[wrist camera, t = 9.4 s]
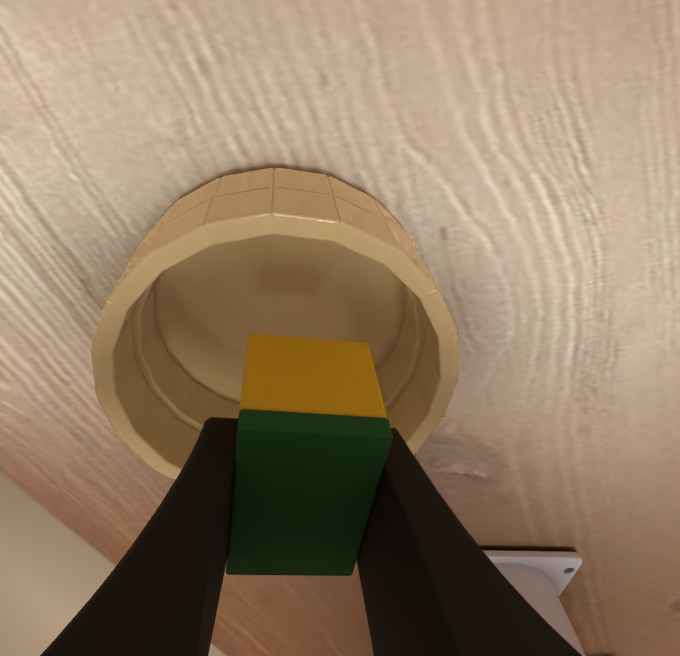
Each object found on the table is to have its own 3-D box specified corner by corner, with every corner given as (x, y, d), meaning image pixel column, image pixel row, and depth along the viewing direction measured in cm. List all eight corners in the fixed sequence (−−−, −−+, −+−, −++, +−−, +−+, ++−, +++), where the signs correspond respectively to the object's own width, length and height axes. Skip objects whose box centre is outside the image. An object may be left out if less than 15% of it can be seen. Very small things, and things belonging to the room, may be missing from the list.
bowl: (388, 421, 19) (411, 509, 16) (140, 405, 18) (107, 499, 14) (456, 188, 14) (509, 242, 11) (126, 140, 13) (71, 186, 10)
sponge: (339, 470, 13) (352, 577, 10) (237, 465, 12) (225, 575, 10) (369, 341, 11) (394, 436, 8) (248, 330, 10) (237, 427, 8)
